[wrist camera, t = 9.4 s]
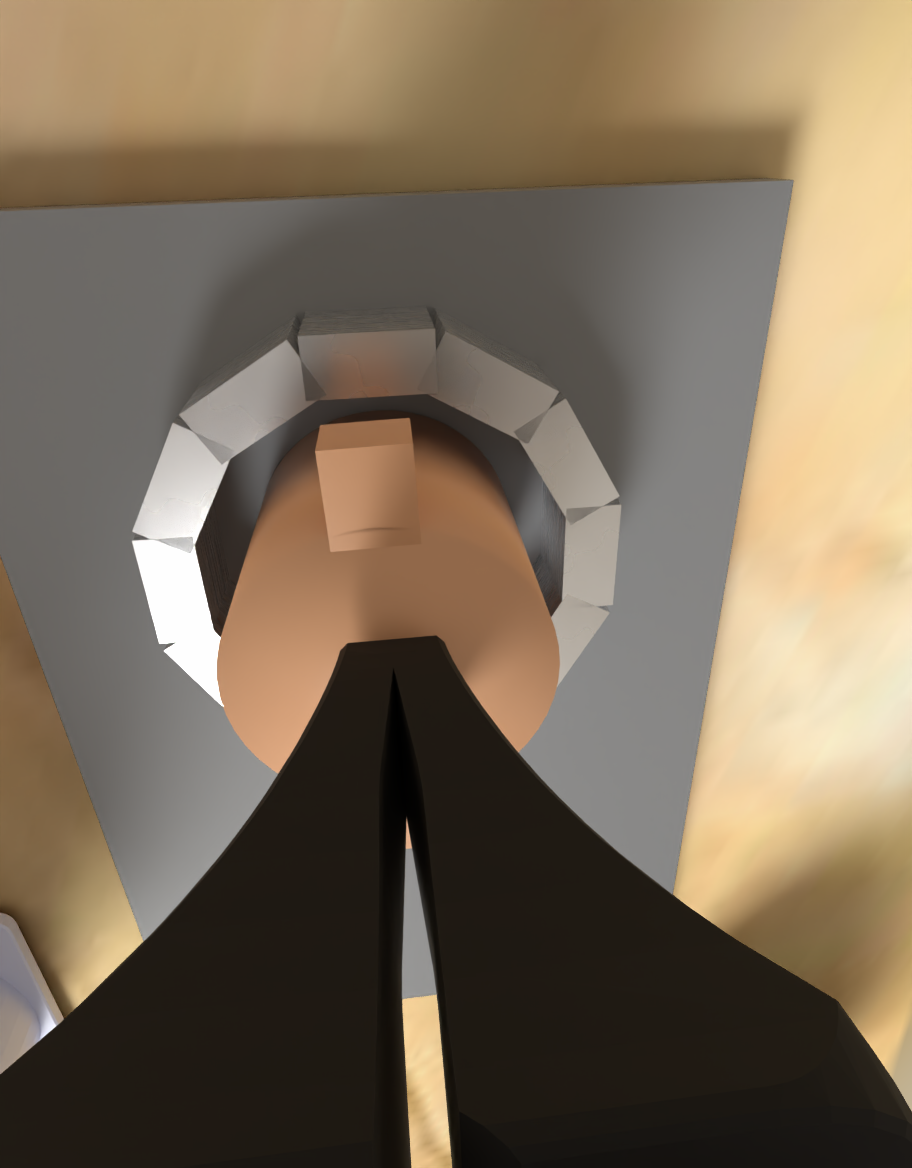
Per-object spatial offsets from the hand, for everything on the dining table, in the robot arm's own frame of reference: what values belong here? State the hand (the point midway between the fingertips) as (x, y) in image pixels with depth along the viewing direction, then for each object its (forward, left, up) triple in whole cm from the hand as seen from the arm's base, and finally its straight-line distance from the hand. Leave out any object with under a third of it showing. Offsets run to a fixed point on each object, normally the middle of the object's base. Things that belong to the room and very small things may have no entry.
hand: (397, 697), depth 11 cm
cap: (0, 0, -6) cm, 6 cm away
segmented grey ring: (0, 0, -6) cm, 6 cm away
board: (0, -5, -7) cm, 8 cm away
